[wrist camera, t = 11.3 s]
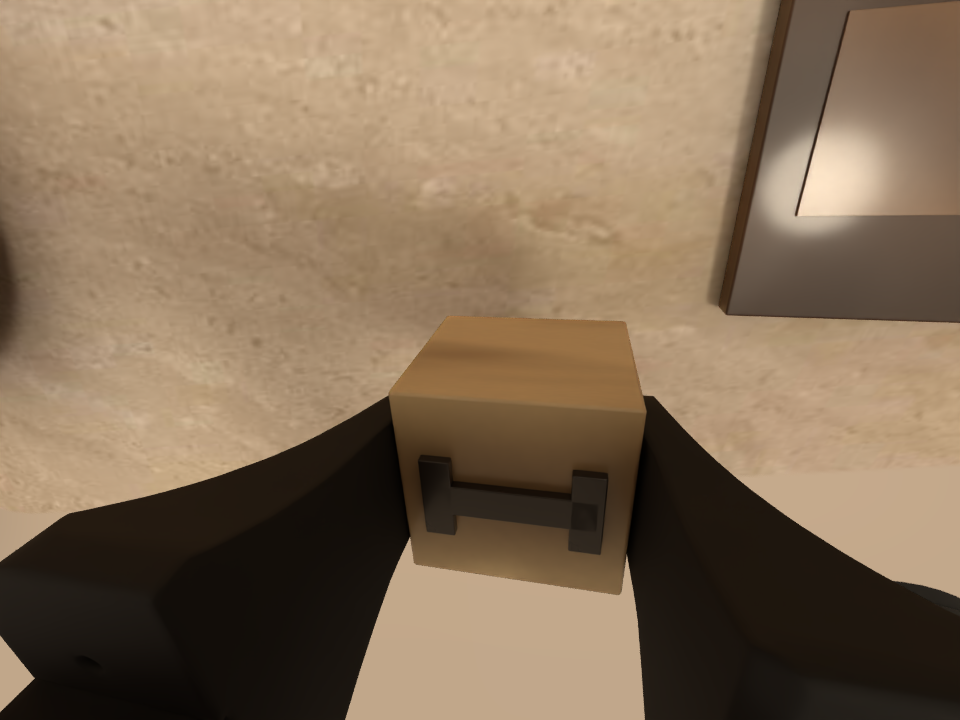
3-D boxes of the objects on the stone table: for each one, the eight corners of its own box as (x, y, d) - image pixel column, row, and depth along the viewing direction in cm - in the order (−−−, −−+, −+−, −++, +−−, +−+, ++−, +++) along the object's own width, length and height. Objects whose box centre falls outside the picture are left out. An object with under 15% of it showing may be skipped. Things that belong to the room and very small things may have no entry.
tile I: (610, 468, 12) (622, 606, 9) (457, 453, 13) (410, 573, 10) (626, 320, 11) (649, 417, 7) (446, 314, 11) (381, 398, 8)
